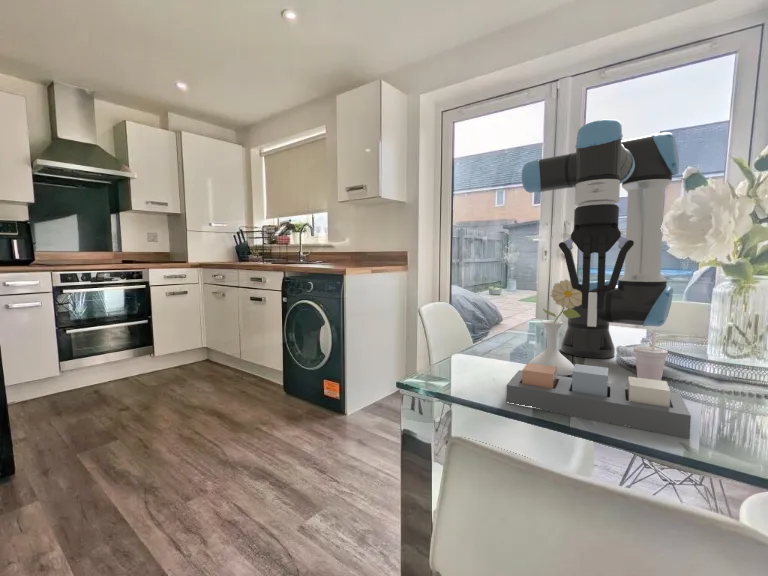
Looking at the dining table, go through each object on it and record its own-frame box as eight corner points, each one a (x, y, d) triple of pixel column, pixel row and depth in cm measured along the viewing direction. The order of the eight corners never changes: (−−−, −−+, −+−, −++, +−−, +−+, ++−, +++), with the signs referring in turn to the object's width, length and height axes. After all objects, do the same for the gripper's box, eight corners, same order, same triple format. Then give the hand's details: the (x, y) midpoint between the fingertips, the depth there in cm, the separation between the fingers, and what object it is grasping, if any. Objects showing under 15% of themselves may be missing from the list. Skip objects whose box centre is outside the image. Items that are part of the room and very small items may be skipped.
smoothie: (672, 396, 80) (675, 333, 79) (639, 394, 82) (642, 332, 81) (656, 386, 87) (659, 328, 85) (626, 385, 88) (629, 327, 87)
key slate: (574, 386, 78) (575, 363, 78) (607, 391, 75) (608, 367, 75) (571, 395, 73) (572, 371, 73) (606, 401, 70) (607, 375, 70)
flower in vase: (524, 376, 95) (527, 280, 94) (531, 365, 105) (533, 277, 103) (582, 384, 89) (585, 281, 87) (583, 371, 99) (586, 278, 97)
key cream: (627, 400, 74) (628, 376, 73) (664, 406, 70) (666, 381, 70) (628, 411, 68) (629, 385, 68) (669, 418, 65) (670, 391, 65)
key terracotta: (527, 384, 84) (527, 363, 83) (556, 389, 80) (556, 366, 80) (521, 392, 78) (522, 369, 78) (552, 398, 75) (553, 374, 75)
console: (518, 386, 88) (518, 370, 87) (678, 413, 72) (679, 393, 71) (506, 403, 77) (506, 384, 77) (689, 438, 62) (690, 415, 61)
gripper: (557, 206, 72) (553, 325, 73) (637, 199, 65) (632, 331, 67) (561, 210, 78) (558, 320, 80) (635, 205, 71) (630, 325, 73)
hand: (591, 325), depth 73 cm, fingers closed
